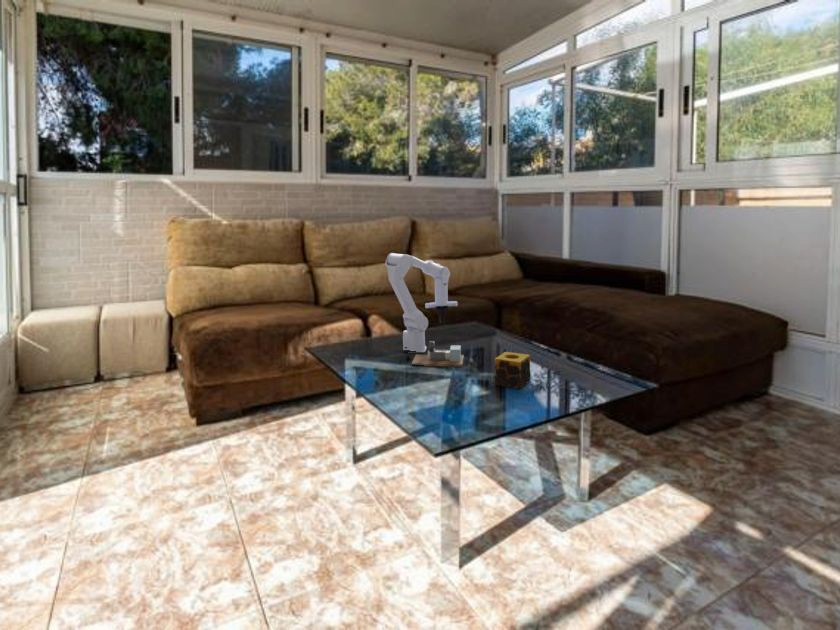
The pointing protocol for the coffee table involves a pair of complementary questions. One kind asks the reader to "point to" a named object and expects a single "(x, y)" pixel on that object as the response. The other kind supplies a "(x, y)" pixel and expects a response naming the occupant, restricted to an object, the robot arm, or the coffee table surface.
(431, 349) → the bolt
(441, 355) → the channel
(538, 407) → the coffee table surface
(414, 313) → the robot arm
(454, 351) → the block
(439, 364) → the guide board
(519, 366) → the candle
